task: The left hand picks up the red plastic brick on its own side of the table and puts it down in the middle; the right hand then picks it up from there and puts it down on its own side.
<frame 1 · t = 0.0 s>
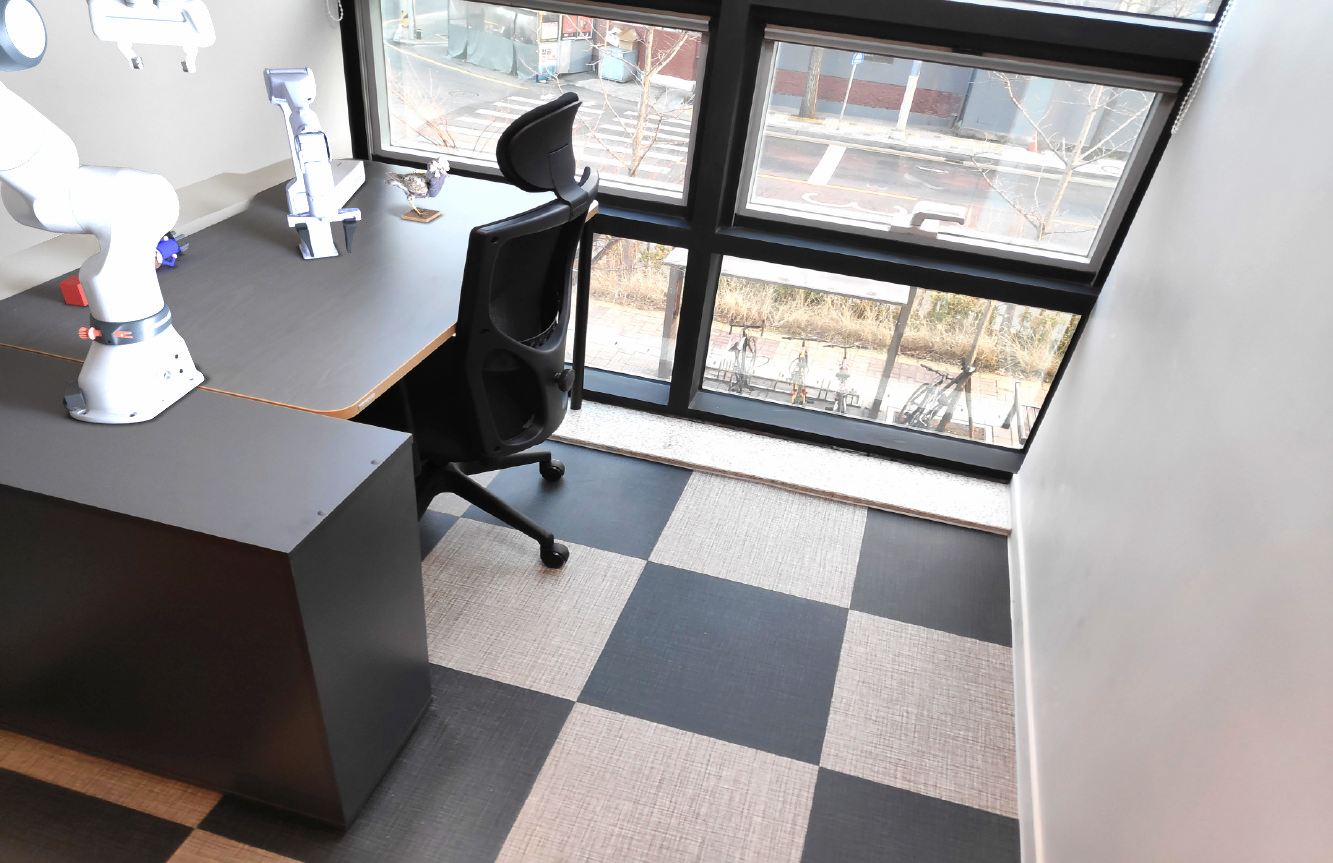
left hand: (163, 69, 151), 48 cm above the table, tool pointing down, fingers open, 8 cm apart
right hand: (330, 253, 180), 10 cm above the table, tool pointing down, fingers open, 7 cm apart
brick: (83, 300, 176), on the table
stuffed bird: (422, 217, 231), on the table
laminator: (332, 197, 240), on the table
action figure: (420, 188, 252), on the table
character figurine: (164, 265, 193), on the table
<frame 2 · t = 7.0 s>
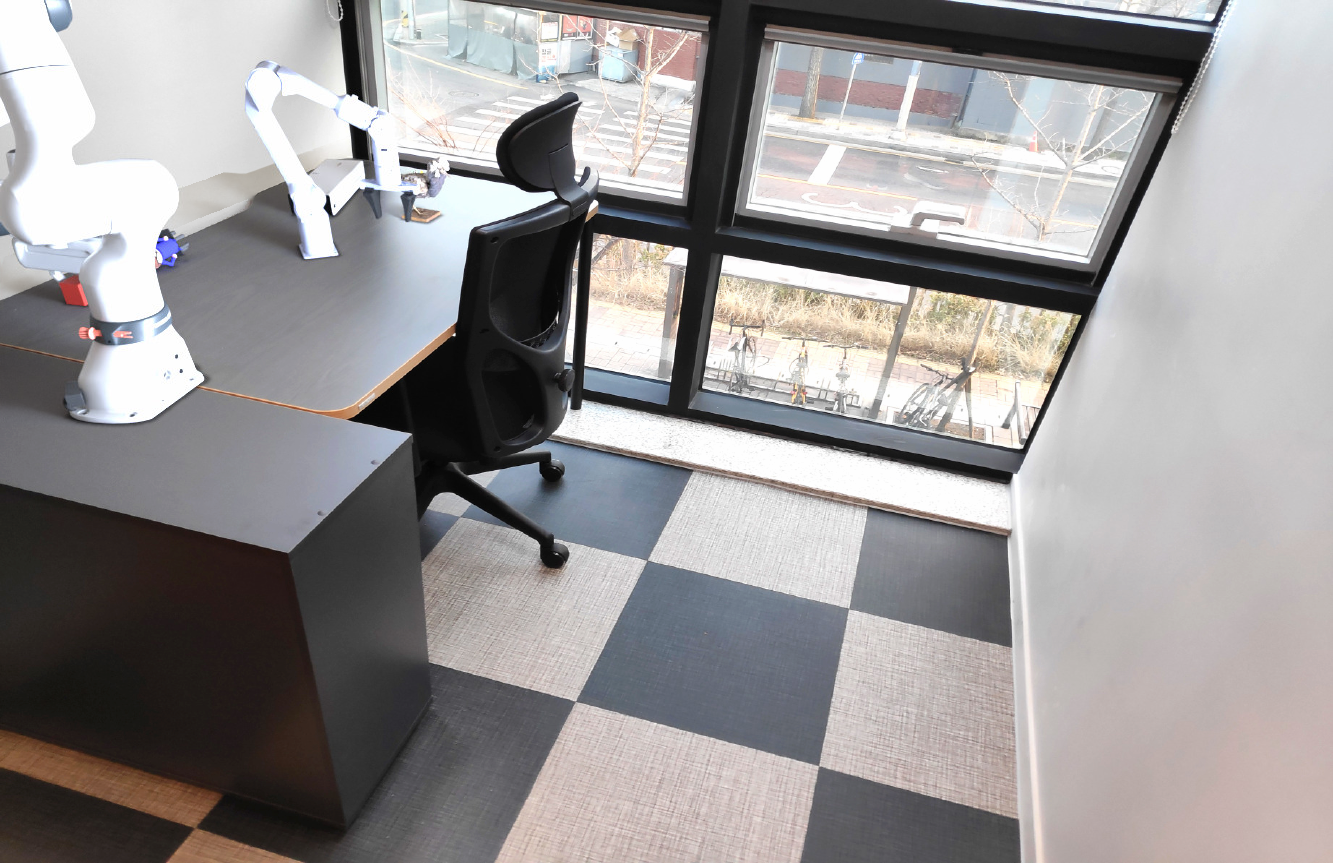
left hand: (79, 290, 174), 2 cm above the table, tool pointing down, fingers closed on brick, 4 cm apart
right hand: (393, 219, 205), 8 cm above the table, tool pointing down, fingers open, 7 cm apart
brick: (83, 300, 176), on the table, touching left hand
everything else where it was.
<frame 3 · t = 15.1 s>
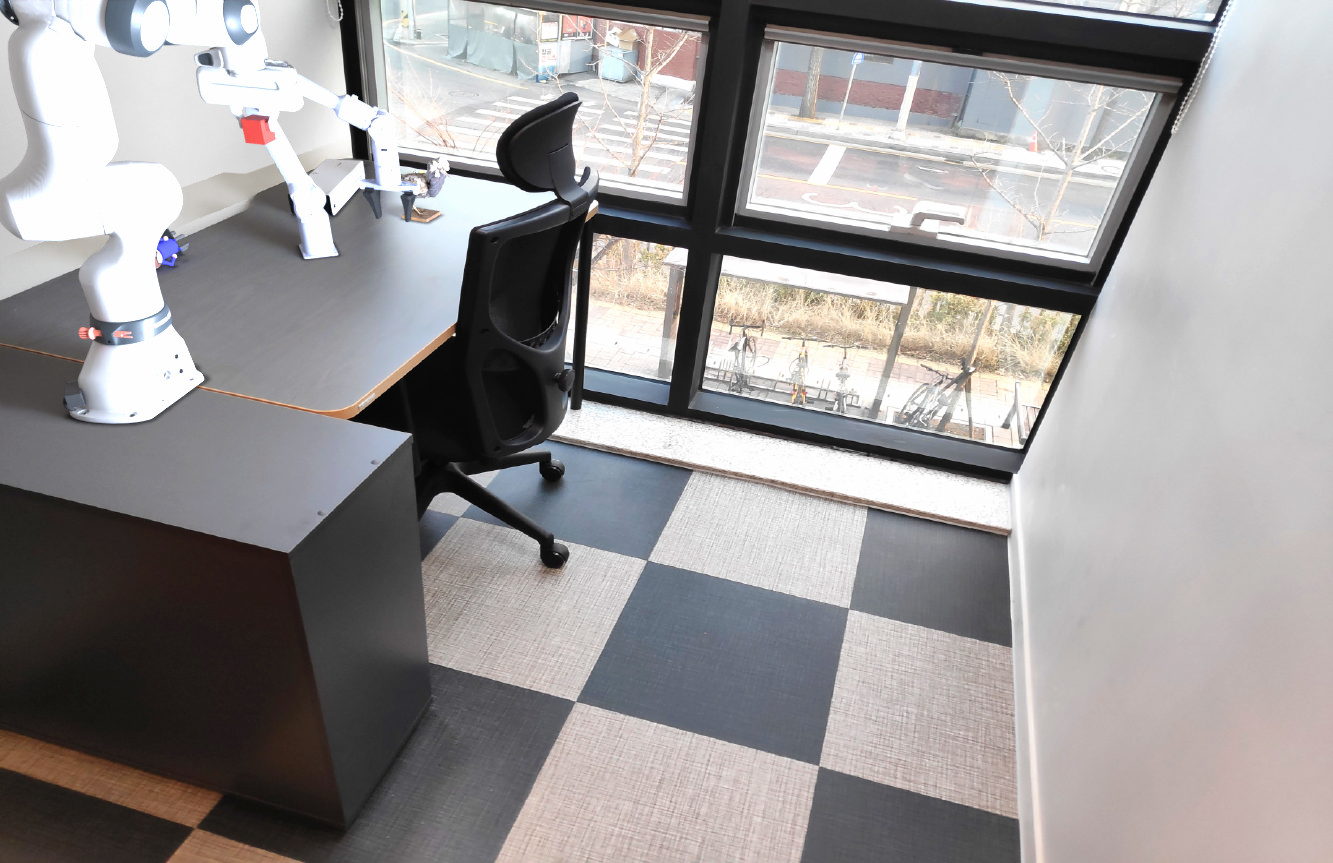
left hand: (258, 129, 169), 35 cm above the table, tool pointing down, fingers closed on brick, 4 cm apart
right hand: (393, 219, 205), 8 cm above the table, tool pointing down, fingers open, 7 cm apart
brick: (261, 141, 170), point 32 cm above the table, touching left hand
everything else where it was.
when the left hand's fingers open (3 cm above the table, at t = 23.1 s): brick drops 1 cm, on the table.
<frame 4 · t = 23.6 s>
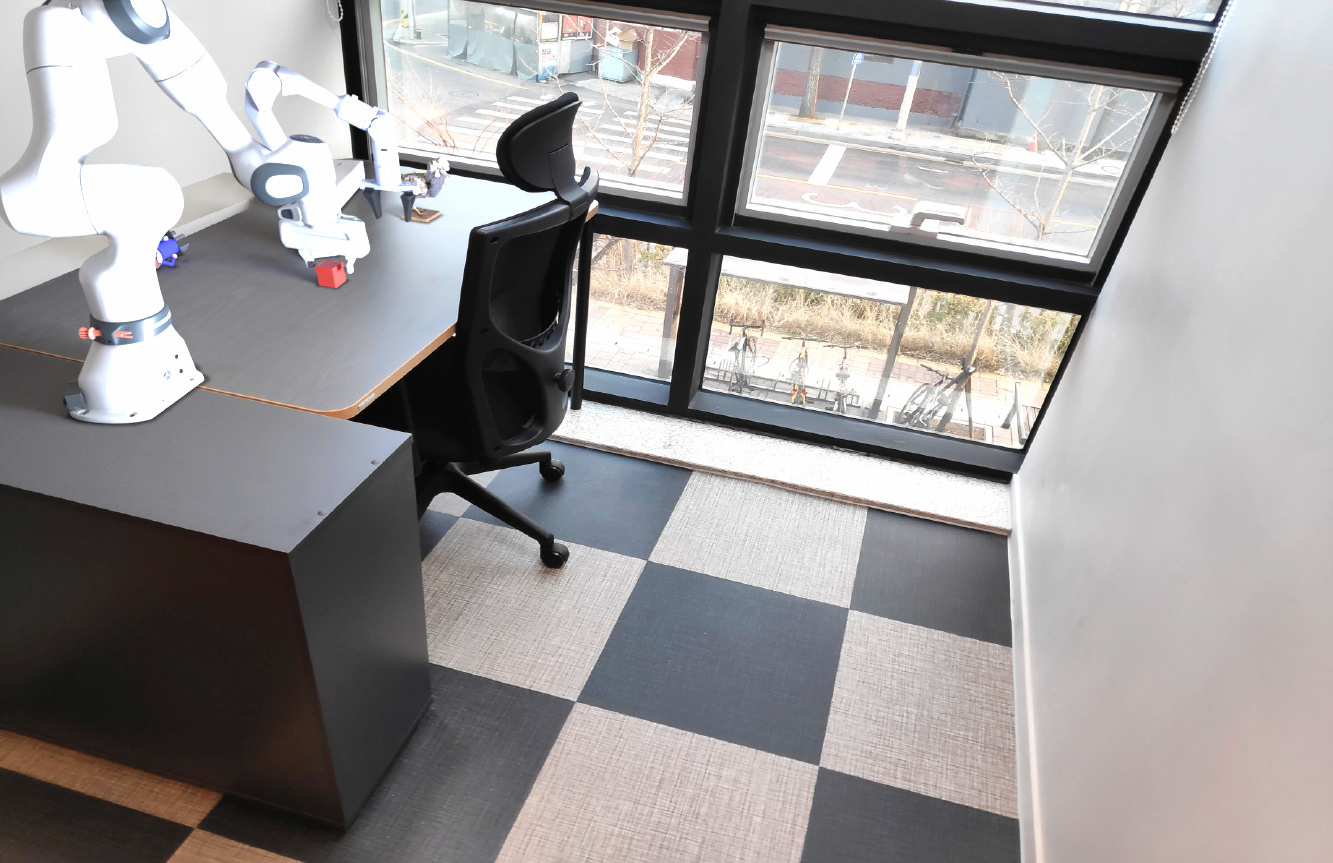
left hand: (330, 269, 189), 3 cm above the table, tool pointing down, fingers open, 8 cm apart
right hand: (393, 219, 205), 8 cm above the table, tool pointing down, fingers open, 7 cm apart
brick: (332, 283, 191), on the table
everything else where it was.
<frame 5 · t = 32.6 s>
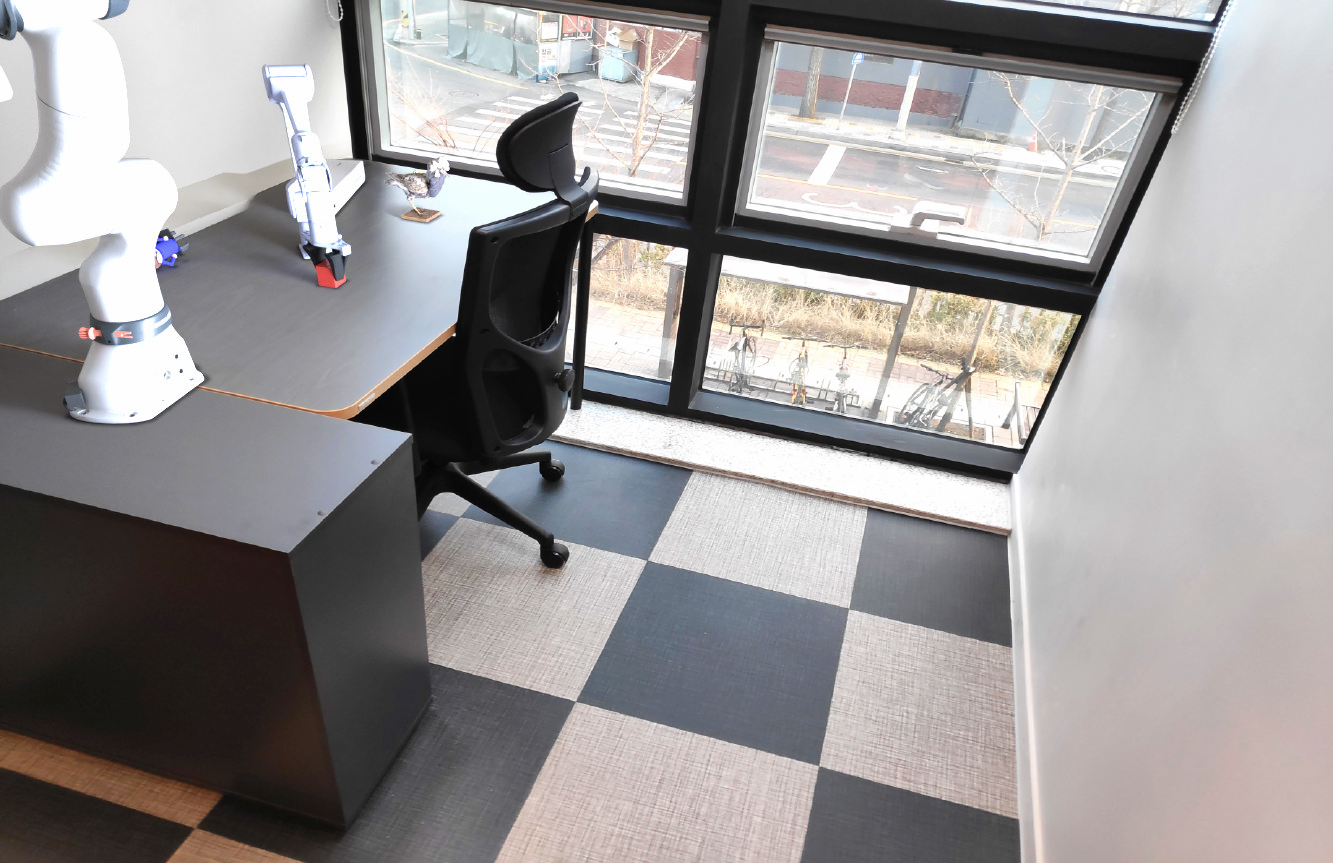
right hand: (331, 276, 190), 2 cm above the table, tool pointing down, fingers closed on brick, 5 cm apart
brick: (332, 283, 191), on the table, touching right hand
everything else where it was.
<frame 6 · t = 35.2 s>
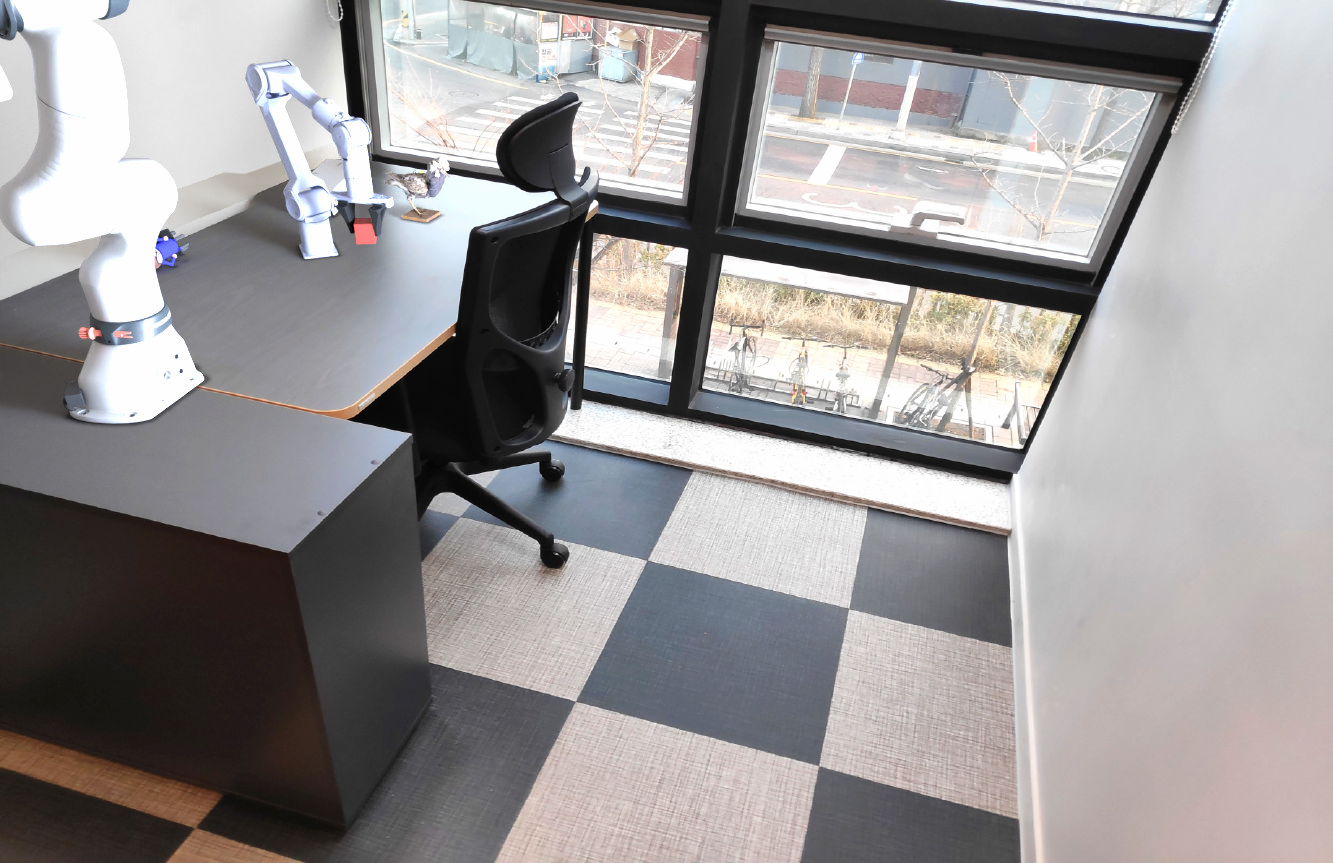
right hand: (366, 233, 193), 9 cm above the table, tool pointing down, fingers closed on brick, 5 cm apart
brick: (366, 240, 194), point 8 cm above the table, touching right hand
everything else where it was.
when the right hand's fingers open (3 cm above the table, at t = 38.0 s): brick stays where it is, on the table.
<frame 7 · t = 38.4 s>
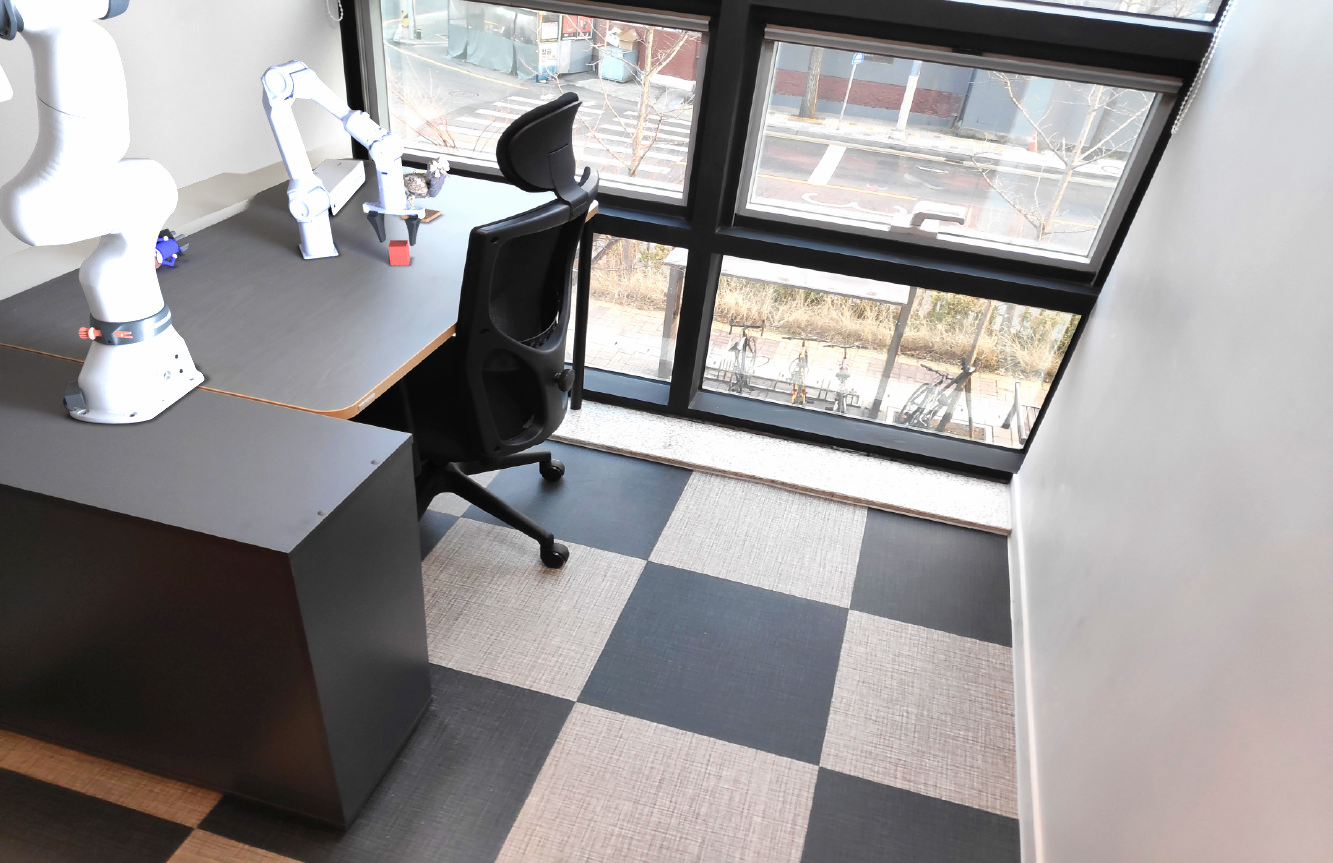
right hand: (397, 242, 201), 5 cm above the table, tool pointing down, fingers open, 7 cm apart
brick: (400, 261, 204), on the table
everything else where it was.
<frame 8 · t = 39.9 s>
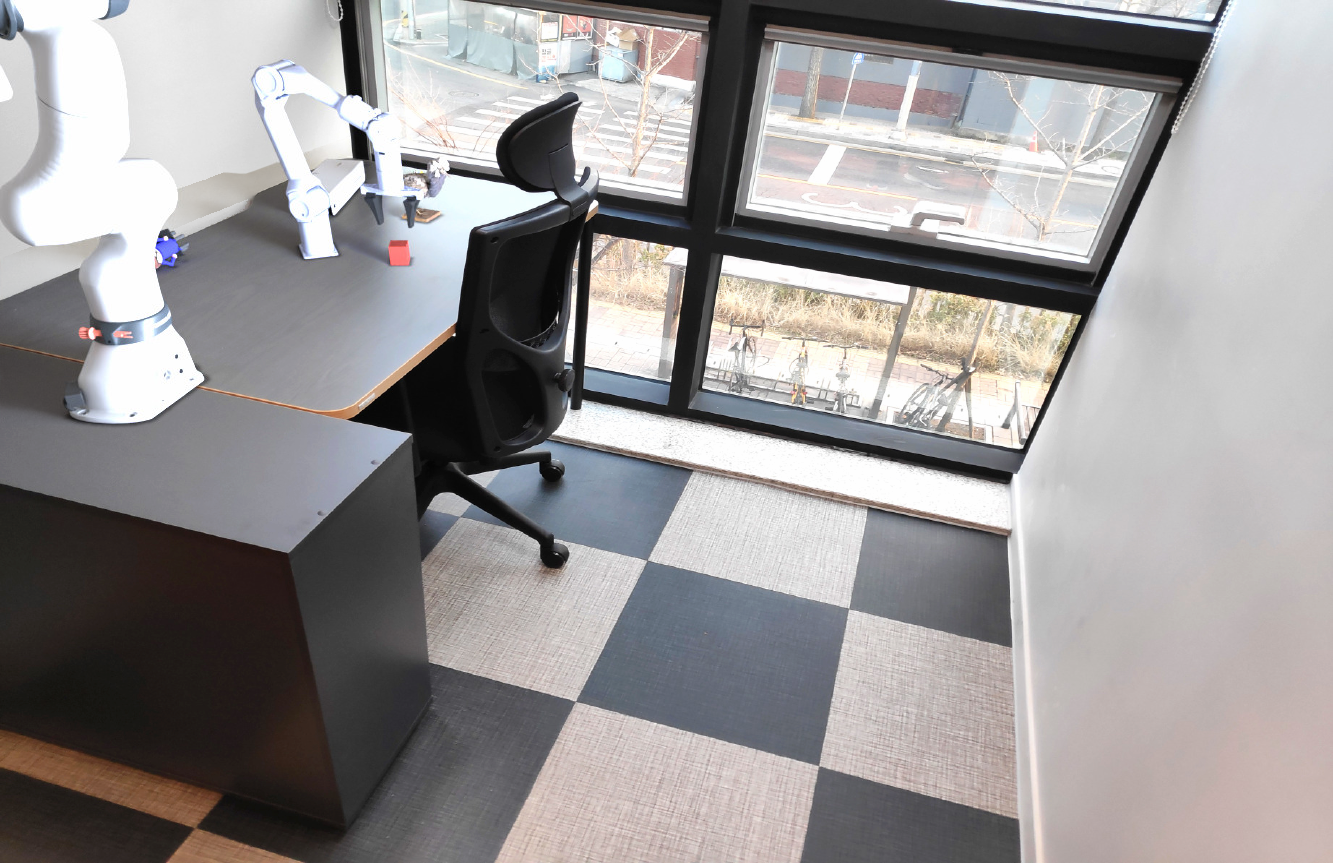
right hand: (396, 225, 199), 9 cm above the table, tool pointing down, fingers open, 7 cm apart
nothing on the table moved.
at the end: brick inside the target area (0.0 cm from its centre), on the table; brick tilted 0°; the two hands never held the brick at the same time; the left hand is holding nothing; the right hand is holding nothing; brick at rest at the end (0.0 cm/s) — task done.
